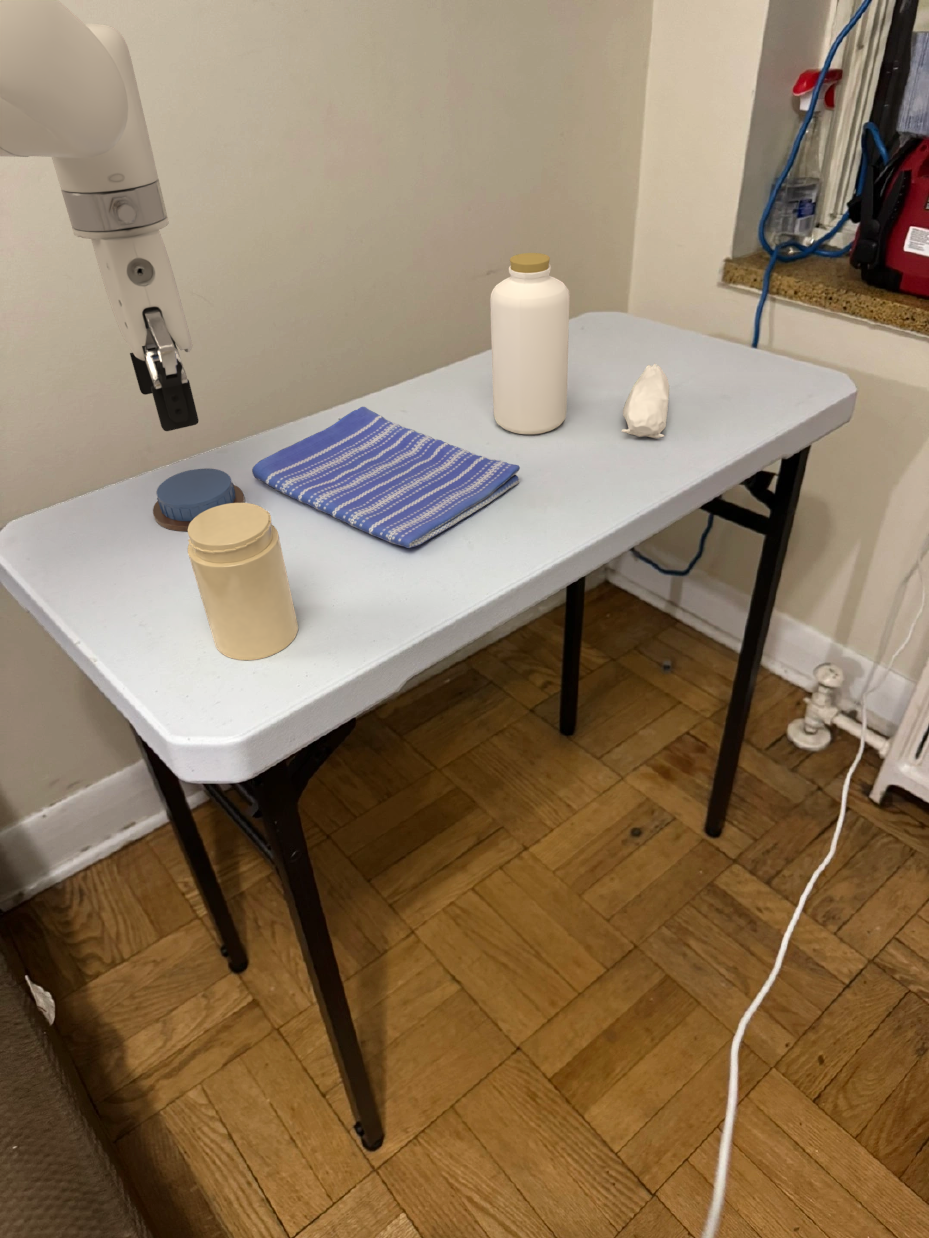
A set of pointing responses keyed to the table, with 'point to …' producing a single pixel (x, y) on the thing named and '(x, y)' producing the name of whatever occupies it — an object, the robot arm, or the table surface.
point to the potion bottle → (530, 346)
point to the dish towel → (386, 478)
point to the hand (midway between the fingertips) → (169, 408)
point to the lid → (194, 493)
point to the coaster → (183, 525)
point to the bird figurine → (647, 404)
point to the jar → (242, 580)
